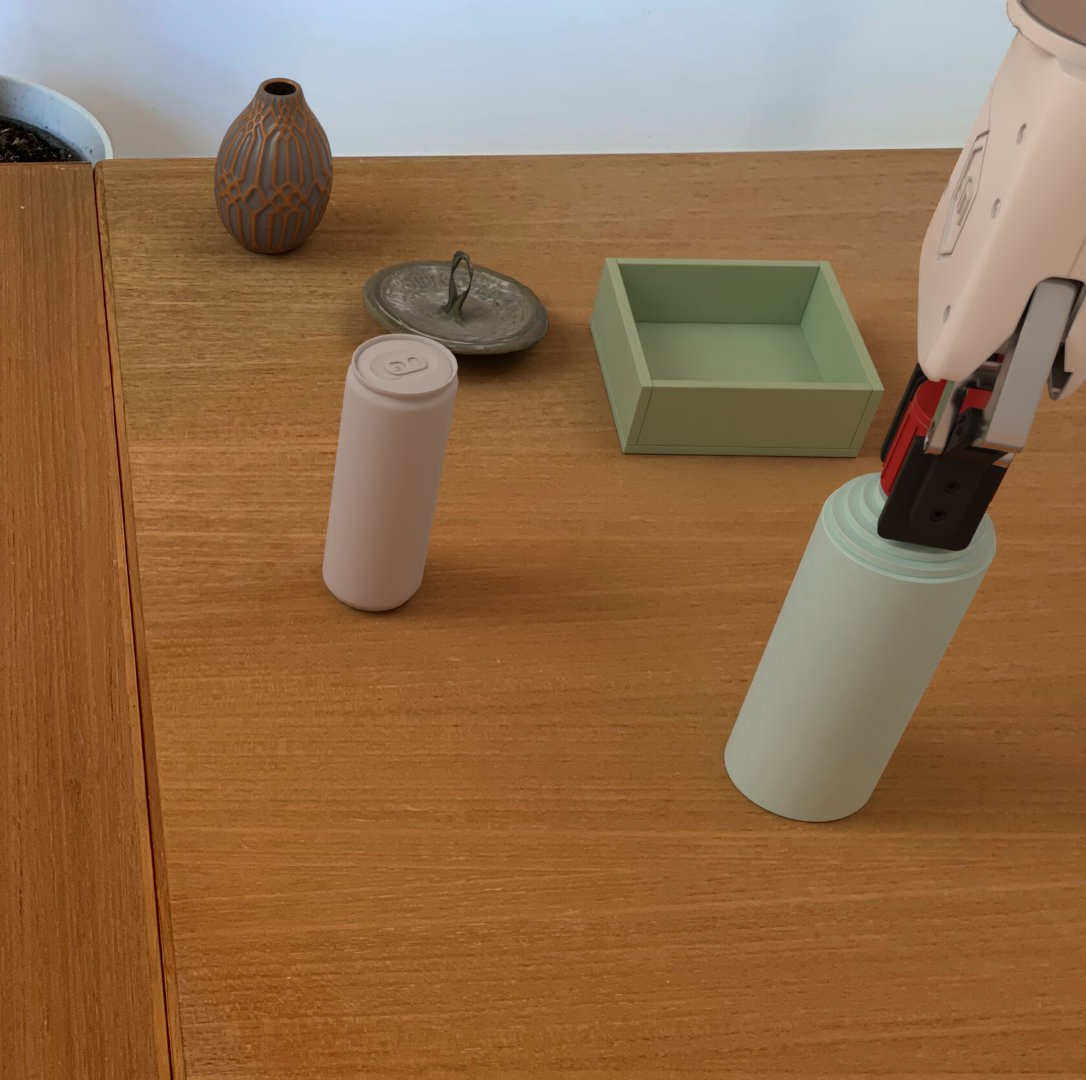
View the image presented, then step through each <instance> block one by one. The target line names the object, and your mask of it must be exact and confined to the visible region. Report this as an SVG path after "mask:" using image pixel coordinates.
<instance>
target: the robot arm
mask: <svg viewBox="0 0 1086 1080" xmlns="http://www.w3.org/2000/svg"><path fill="white" fill-rule="evenodd" d="M1005 6H1006V12H1005V13H1006V16H1007V17H1008V20H1009V22H1010V24H1011V25H1012V27H1013V28H1015V29H1016V30H1017V31H1016V34H1015V35H1014V38H1013V39H1012V41H1011V44H1010V45H1009V48H1008V50H1007V52H1006V54H1005V56H1004V57H1003V60H1002V62H1001V64H1000V67H999V69H998V70H997V73H996V75H995V77H994V79H993V82H992V83H991V86H990V88H989V90H988V92H987V94H986V97H985V99H984V101H983V103H982V105H981V107H980V111H979V113H978V114H977V117H976V120H975V121H974V124H973V126H972V128H971V130H970V133H969V135H968V137H967V139H966V141H965V144H964V146H963V148H962V150H961V153H960V155H959V157H958V159H957V162H956V164H955V165H954V168H953V171H952V173H951V174H950V177H949V180H948V181H947V183H946V187H945V188H944V191H943V193H942V195H941V197H940V200H939V202H938V204H937V206H936V208H935V211H934V213H933V215H932V217H931V220H930V221H929V225H928V227H927V229H926V232H925V235H924V238H923V242H922V245H921V250H920V257H919V269H918V292H917V293H918V294H917V360H918V362H916V364H915V367H914V369H913V370H912V373H911V376H910V378H909V381H908V382H907V386H906V387H905V390H904V392H903V394H902V397H901V399H900V402H899V404H898V406H897V409H896V411H895V414H894V415H893V416H894V417H893V418H892V420H891V423H890V426H889V428H888V430H887V432H886V435H885V437H884V439H883V442H882V443H881V447H880V454H879V455H880V456H879V458H880V462H881V463H882V464H884V461H885V459H886V457H887V454H888V452H889V450H890V447H891V445H892V443H893V440H894V438H895V436H896V433H897V431H898V429H899V426H900V424H901V422H902V419H903V417H904V415H905V412H906V410H907V408H908V405H909V403H910V401H912V400H913V399H914V396H915V394H916V391H917V389H918V388H919V387H920V385H921V384H923V383H924V382H925V381H927V380H930V381H935V382H939V381H940V380H941V379H946V380H948V381H947V383H946V386H945V388H944V391H943V393H942V396H941V398H940V401H939V403H938V406H937V408H936V411H935V413H934V416H933V418H932V421H931V423H930V426H929V428H928V431H927V434H926V437H925V436H919V435H915V437H914V439H913V442H912V444H911V446H910V448H909V451H908V453H907V455H906V457H905V460H904V462H903V464H902V467H901V469H900V471H899V473H898V476H897V478H896V480H895V482H894V485H893V487H892V489H891V491H890V494H889V496H888V498H887V501H886V503H885V505H884V507H883V510H882V512H881V514H880V516H879V519H878V522H877V533H878V535H879V536H880V537H881V538H884V539H889V540H895V541H900V542H906V543H911V544H917V545H922V546H928V547H934V548H939V549H945V550H950V551H961V550H964V549H965V548H967V547H968V545H969V544H970V542H971V540H972V538H973V536H974V534H975V532H976V530H977V528H978V526H979V524H980V522H981V520H982V518H983V516H984V514H985V512H987V510H988V508H989V506H990V504H991V503H992V502H991V500H992V498H993V496H994V494H995V492H996V490H997V488H998V486H999V484H1000V482H1001V480H1002V478H1003V476H1004V474H1005V472H1006V470H1007V468H1008V466H1009V465H1010V466H1011V464H1012V462H1013V460H1014V458H1015V456H1016V454H1020V453H1022V451H1023V449H1024V447H1025V446H1026V443H1027V441H1028V438H1029V435H1030V432H1031V430H1032V426H1033V424H1034V421H1035V418H1036V414H1037V412H1038V409H1039V406H1040V403H1041V401H1042V396H1043V394H1044V392H1045V388H1046V386H1047V391H1048V395H1049V398H1050V399H1051V400H1052V401H1055V402H1056V401H1060V400H1063V399H1065V398H1067V397H1069V396H1070V395H1072V394H1074V393H1075V392H1076V391H1078V390H1079V388H1080V387H1081V386H1082V385H1083V383H1084V382H1085V380H1086V0H1007V1H1006V4H1005ZM969 388H972V389H978V390H984V391H990V392H992V395H991V397H990V400H989V402H988V404H987V405H986V407H984V408H982V409H980V408H974V407H969V408H967V409H966V410H965V411H963V412H962V413H961V414H959V412H960V410H961V407H962V405H963V402H964V400H965V398H966V395H967V393H968V390H969ZM1015 453H1016V454H1015ZM1014 455H1015V456H1014ZM1013 457H1014V458H1013ZM1012 459H1013V460H1012ZM1011 461H1012V462H1011ZM1010 463H1011V464H1010ZM1010 466H1009V467H1010ZM1008 469H1009V468H1008ZM1007 471H1008V470H1007ZM1006 473H1007V472H1006ZM1005 475H1006V474H1005ZM1004 477H1005V476H1004ZM1003 479H1004V478H1003ZM1002 481H1003V480H1002ZM1001 483H1002V482H1001ZM1000 485H1001V484H1000ZM999 487H1000V486H999ZM998 489H999V488H998ZM997 491H998V490H997ZM996 493H997V492H996ZM995 495H996V494H995ZM994 497H995V496H994ZM993 499H994V498H993ZM992 501H993V500H992Z"/></svg>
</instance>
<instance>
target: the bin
mask: <svg viewBox="0 0 1086 1080" xmlns="http://www.w3.org/2000/svg"><path fill="white" fill-rule="evenodd" d="M589 319H590V320H589V327H590V333H591V335H592V340H593V343H594V346H595V351H596V354H597V358H598V363H599V366H600V370H601V374H602V378H603V381H604V385H605V389H606V392H607V396H608V400H609V404H610V408H611V413H612V416H613V421H614V424H615V428H616V431H617V435H618V439H619V443H620V446H621V450H622V453H623V454H639V455H640V454H643V455H645V454H646V455H648V454H649V455H703V456H705V455H706V456H707V455H708V456H709V455H710V456H759V457H760V456H761V457H765V456H767V457H818V458H819V457H822V458H823V457H824V458H825V457H827V458H831V457H832V458H857V457H858V456H859V453H860V451H861V449H862V446H863V443H864V442H865V439H866V437H867V434H868V432H869V430H870V427H871V424H872V421H873V420H874V417H875V414H876V412H877V410H878V408H879V405H880V404H881V403H880V402H881V400H882V397H883V395H884V393H885V391H886V389H885V388H884V385H883V382H882V380H881V378H880V376H879V373H878V371H877V369H876V366H875V363H874V362H873V360H872V357H871V355H870V353H869V351H868V348H867V345H866V343H865V342H864V341H865V340H864V339H863V336H862V333H861V332H860V330H859V329H860V328H859V327H858V324H857V323H856V320H855V318H854V316H853V314H852V312H851V309H850V307H849V304H848V301H847V300H846V297H845V295H844V293H843V290H842V287H841V286H840V283H839V281H838V278H837V276H836V274H835V272H834V269H833V267H832V265H831V263H830V261H829V260H792V259H791V260H790V259H789V260H787V259H786V260H785V259H784V260H783V259H774V260H773V259H724V258H723V259H719V258H717V259H716V258H715V259H714V258H655V257H653V258H650V257H646V258H645V257H605V259H604V263H603V267H602V271H601V275H600V279H599V282H598V288H597V290H596V295H595V299H594V305H593V307H592V310H591V315H590V318H589Z"/></svg>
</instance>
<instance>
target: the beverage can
mask: <svg viewBox="0 0 1086 1080" xmlns="http://www.w3.org/2000/svg"><path fill="white" fill-rule="evenodd" d="M458 369H459V366H458V362H457V358H456V356H455V355H454V354H453V352H451V351H450V350H448V349H447V348H446V347H445V346H443V345H442V344H440V343H438V342H436V341H434V340H432V339H429V338H425V337H422V336H418V335H411V334H393V333H389V334H381V335H377V336H375V337H372V338H369V339H367V340H366V341H364V342H362V343H360V345H359V346H358V347H357V348H356V349H355V350H354V351H353V353H352V357H351V363H350V364H349V366H348V369H347V373H346V377H345V383H344V391H343V400H342V409H341V416H340V425H339V432H338V441H337V449H336V457H335V464H334V474H333V479H332V489H331V495H330V496H331V497H330V505H329V513H328V521H327V529H326V537H325V545H324V552H323V553H324V554H323V561H322V570H321V571H322V572H321V573H322V578H323V581H324V583H325V585H326V587H327V589H328V590H329V591H330V593H331V594H332V595H333V596H334V597H335V598H336V599H338V600H339V602H342V603H343V604H345V605H347V606H348V607H350V608H352V609H353V608H354V609H357V610H360V611H365V612H366V611H367V612H384V611H389V610H393V609H395V608H397V607H400V606H402V605H403V604H405V603H406V602H407V601H409V600H410V598H411V597H412V596H414V595H415V593H416V592H417V591H418V590H419V588H420V587H421V585H422V580H423V576H424V571H425V565H426V561H427V554H428V550H429V544H430V538H431V533H432V527H433V523H434V516H435V511H436V507H437V500H438V496H439V489H440V483H441V479H442V473H443V467H444V463H445V457H446V452H447V446H448V441H449V436H450V430H451V425H452V420H453V415H454V414H453V413H454V410H455V409H454V408H455V404H456V398H457V392H458V388H459V387H458V386H459V378H458Z"/></svg>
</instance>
